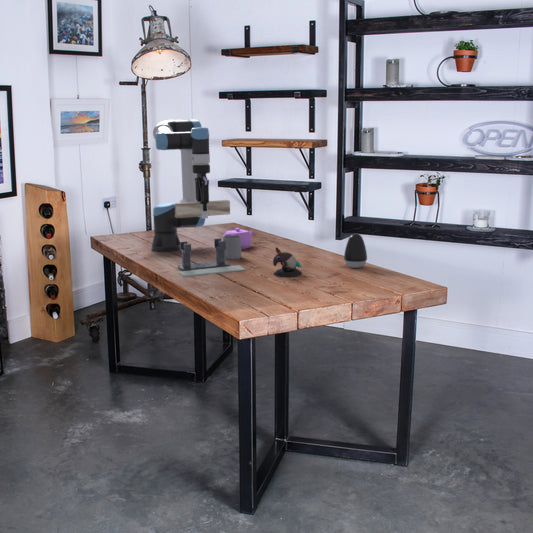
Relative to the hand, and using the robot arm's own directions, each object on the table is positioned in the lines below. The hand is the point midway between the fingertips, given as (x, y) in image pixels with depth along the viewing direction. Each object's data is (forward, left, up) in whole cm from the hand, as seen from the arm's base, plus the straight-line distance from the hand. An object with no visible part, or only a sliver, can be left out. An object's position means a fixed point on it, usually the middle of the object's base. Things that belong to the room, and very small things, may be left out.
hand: (203, 217), depth 282 cm
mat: (+8, +1, -23) cm, 24 cm away
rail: (0, 0, +1) cm, 1 cm away
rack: (-1, 0, -23) cm, 23 cm away
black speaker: (+27, +62, -23) cm, 71 cm away
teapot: (-37, +30, -23) cm, 53 cm away
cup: (-16, +19, -23) cm, 34 cm away
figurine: (+26, +29, -23) cm, 45 cm away
